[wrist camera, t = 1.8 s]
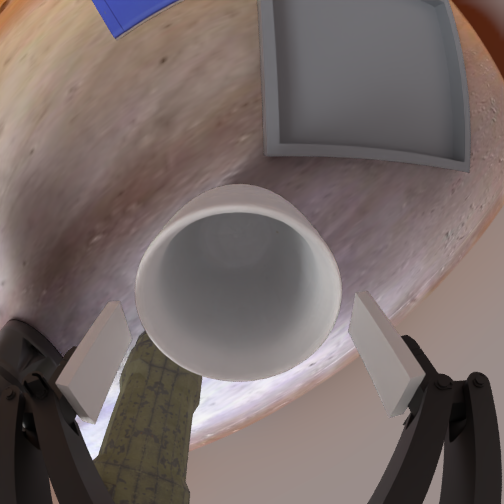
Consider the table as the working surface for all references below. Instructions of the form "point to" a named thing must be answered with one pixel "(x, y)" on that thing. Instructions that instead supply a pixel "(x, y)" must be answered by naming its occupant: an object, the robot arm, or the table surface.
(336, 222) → the table surface
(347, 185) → the table surface
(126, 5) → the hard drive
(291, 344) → the mug
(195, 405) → the thermos
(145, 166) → the table surface
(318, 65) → the tray
